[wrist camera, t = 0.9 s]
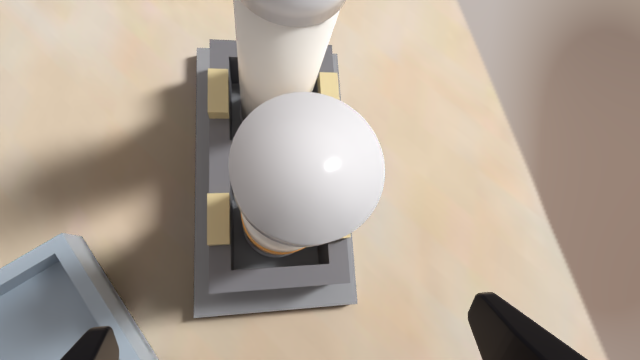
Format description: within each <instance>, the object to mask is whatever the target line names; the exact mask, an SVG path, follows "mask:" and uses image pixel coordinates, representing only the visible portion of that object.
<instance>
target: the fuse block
mask: <svg viewBox="0 0 640 360" xmlns="http://www.w3.org/2000/svg"><path fill="white" fill-rule="evenodd" d="M312 92H314V93H319V94H324V95H327V96H331V97H333V98H335V99H338V100H340V101H341V96H340V84H339V72H338V59H337V54H332V45H328V46H327V49H326V52H325V55H324V58H323V61H322V64H321V67H320V70H319V73H318V76H317V79H316V82H315V85H314V88H313V91H312ZM240 105H241V98H240V84H239V70H238V57H237V43H236V41H234V40H212V39H210V48H197V85H196V168H195V251H194V318H200V317H212V316H223V315H235V314H246V313H257V312H269V311H280V310H292V309H303V308H314V307H326V306H337V305H349V304H357V292H356V280H355V268H354V255H353V243H352V232H351V233H350V234H348V235H347V236H344V237H342V238H340V239H338V240H335V241H332V242H329V243H325V244H322V245H319V246H313V247H305V248H304V249H301V250H299V251H297V252H294V253H293V254H290V255H288V256H284V257H280V258H271V257H266V256H263V255H261V254H259V253H257V252H256V251H255V250H254V249H253V248H252V247H251V246H250V245H249V244H248V242H247V240H246V238H245V236H244V232H243V227H242V220H241V211H240V209H239V207H238V205H237V203H236V200H235V197H234V193H233V190H232V186H231V182H230V177H229V154H230V148H231V145H232V141H233V138H234V136H235V134H236V132H237V130H238V128H239V127H240V125H241V121H240Z"/></svg>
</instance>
